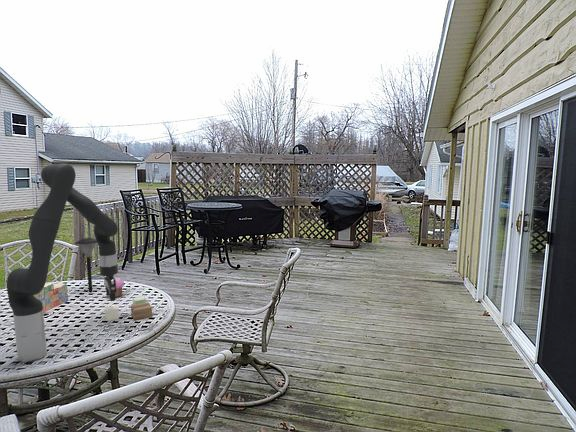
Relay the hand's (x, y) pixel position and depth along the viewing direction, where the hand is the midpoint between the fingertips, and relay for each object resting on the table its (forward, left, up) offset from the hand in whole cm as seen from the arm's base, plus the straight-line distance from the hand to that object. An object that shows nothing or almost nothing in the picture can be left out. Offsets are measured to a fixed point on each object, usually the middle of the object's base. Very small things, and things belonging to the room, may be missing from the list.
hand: (111, 298), depth 184 cm
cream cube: (0, 0, -10) cm, 10 cm away
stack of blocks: (+33, +24, -10) cm, 42 cm away
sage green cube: (+6, -14, -10) cm, 18 cm away
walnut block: (-5, -12, -10) cm, 16 cm away
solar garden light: (+48, +2, -10) cm, 49 cm away
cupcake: (+32, -8, -10) cm, 34 cm away
